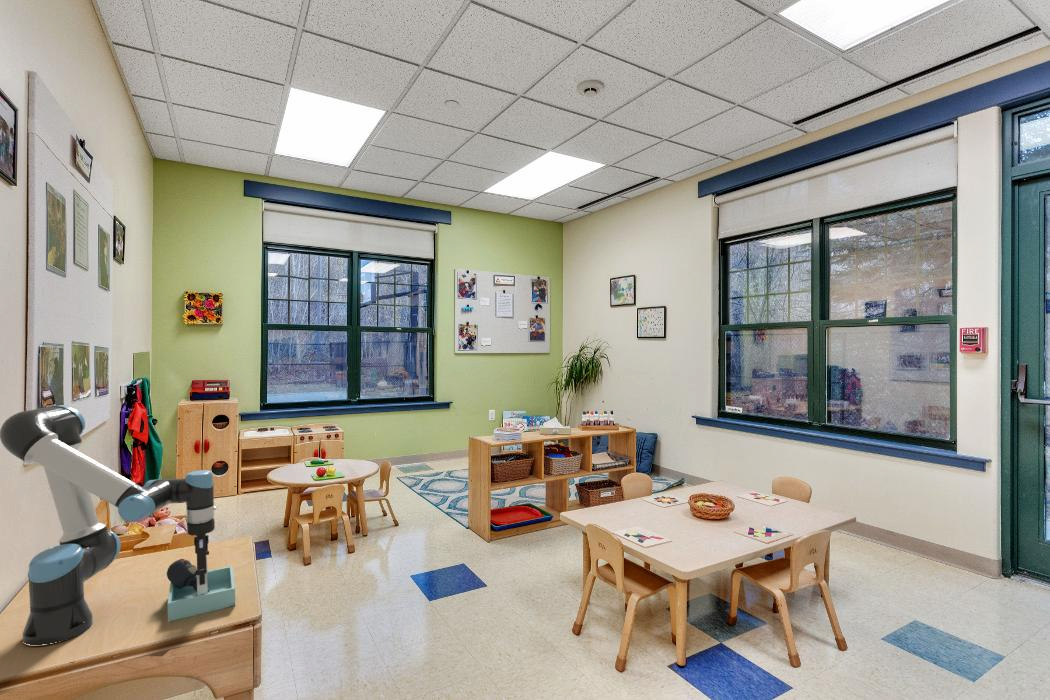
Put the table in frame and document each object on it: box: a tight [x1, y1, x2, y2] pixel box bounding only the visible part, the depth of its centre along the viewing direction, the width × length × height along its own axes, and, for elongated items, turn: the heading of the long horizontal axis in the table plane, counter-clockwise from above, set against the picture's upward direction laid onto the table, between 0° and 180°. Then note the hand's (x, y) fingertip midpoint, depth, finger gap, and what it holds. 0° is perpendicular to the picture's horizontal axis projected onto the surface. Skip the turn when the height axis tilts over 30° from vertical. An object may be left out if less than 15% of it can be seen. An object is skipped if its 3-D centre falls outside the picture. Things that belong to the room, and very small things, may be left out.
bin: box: [167, 565, 236, 622], centre depth 169 cm, size 18×19×6 cm
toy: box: [166, 558, 209, 595], centre depth 170 cm, size 9×8×15 cm
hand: (202, 584), depth 169 cm, fingers open, 13 cm apart
